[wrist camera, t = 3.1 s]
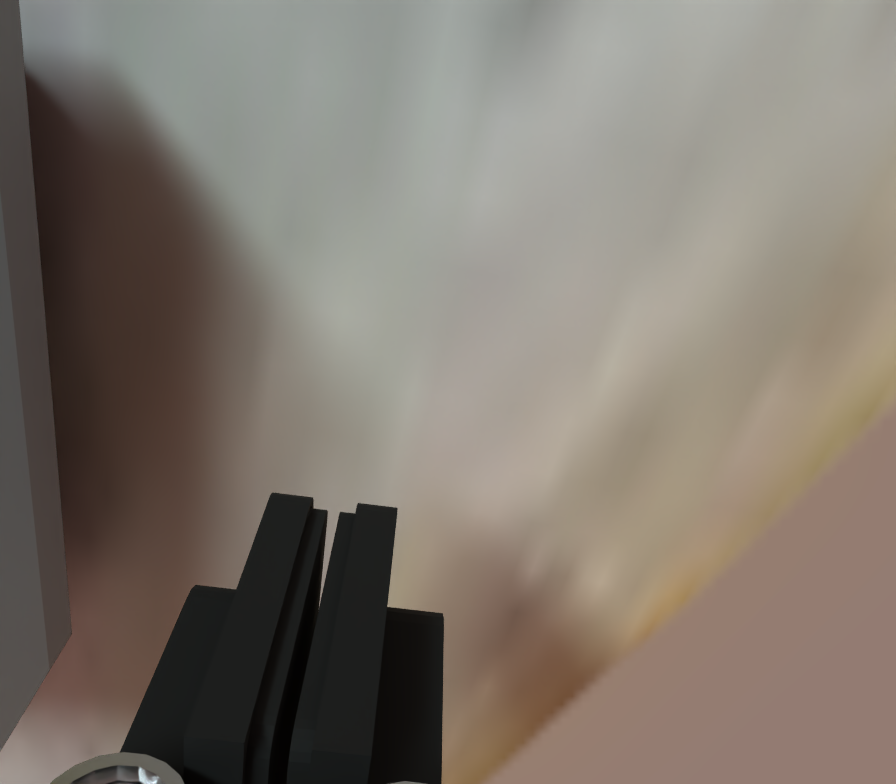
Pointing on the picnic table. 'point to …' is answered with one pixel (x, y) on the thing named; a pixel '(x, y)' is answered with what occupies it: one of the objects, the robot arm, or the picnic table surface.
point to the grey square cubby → (25, 416)
